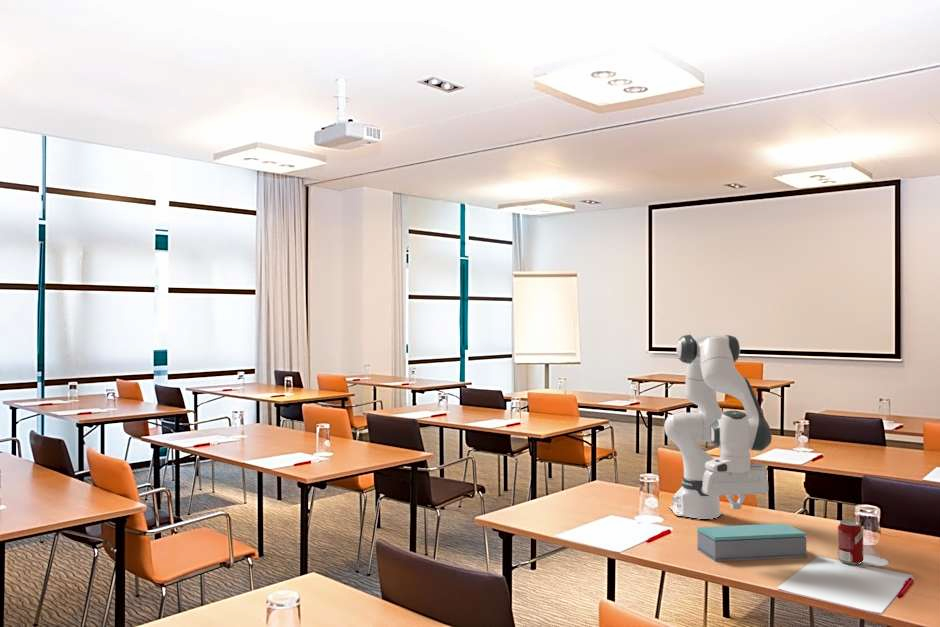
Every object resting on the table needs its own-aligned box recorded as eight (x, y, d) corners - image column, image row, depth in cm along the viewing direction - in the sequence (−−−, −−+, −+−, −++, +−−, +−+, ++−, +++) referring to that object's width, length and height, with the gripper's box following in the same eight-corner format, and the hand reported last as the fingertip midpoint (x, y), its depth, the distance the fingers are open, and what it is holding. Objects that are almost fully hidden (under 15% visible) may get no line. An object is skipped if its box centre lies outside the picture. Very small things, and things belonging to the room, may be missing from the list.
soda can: (850, 566, 218) (849, 526, 218) (833, 560, 224) (832, 520, 224) (868, 564, 219) (868, 524, 220) (851, 558, 226) (850, 518, 226)
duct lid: (697, 530, 235) (697, 527, 235) (784, 526, 239) (784, 523, 239) (714, 540, 223) (714, 537, 223) (806, 536, 228) (806, 533, 228)
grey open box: (697, 549, 235) (697, 531, 235) (784, 545, 239) (784, 527, 239) (715, 561, 223) (714, 541, 223) (806, 556, 227) (806, 537, 228)
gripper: (761, 461, 233) (762, 505, 232) (700, 463, 230) (700, 507, 230) (772, 465, 226) (772, 510, 226) (709, 466, 224) (709, 512, 224)
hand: (735, 508), depth 228 cm, fingers closed
